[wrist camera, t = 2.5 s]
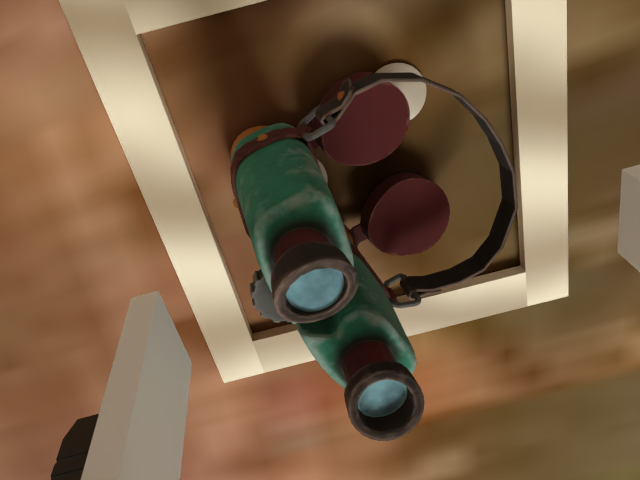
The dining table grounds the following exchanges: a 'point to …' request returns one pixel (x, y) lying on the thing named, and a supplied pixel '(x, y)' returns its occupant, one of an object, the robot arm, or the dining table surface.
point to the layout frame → (194, 224)
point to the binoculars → (352, 241)
